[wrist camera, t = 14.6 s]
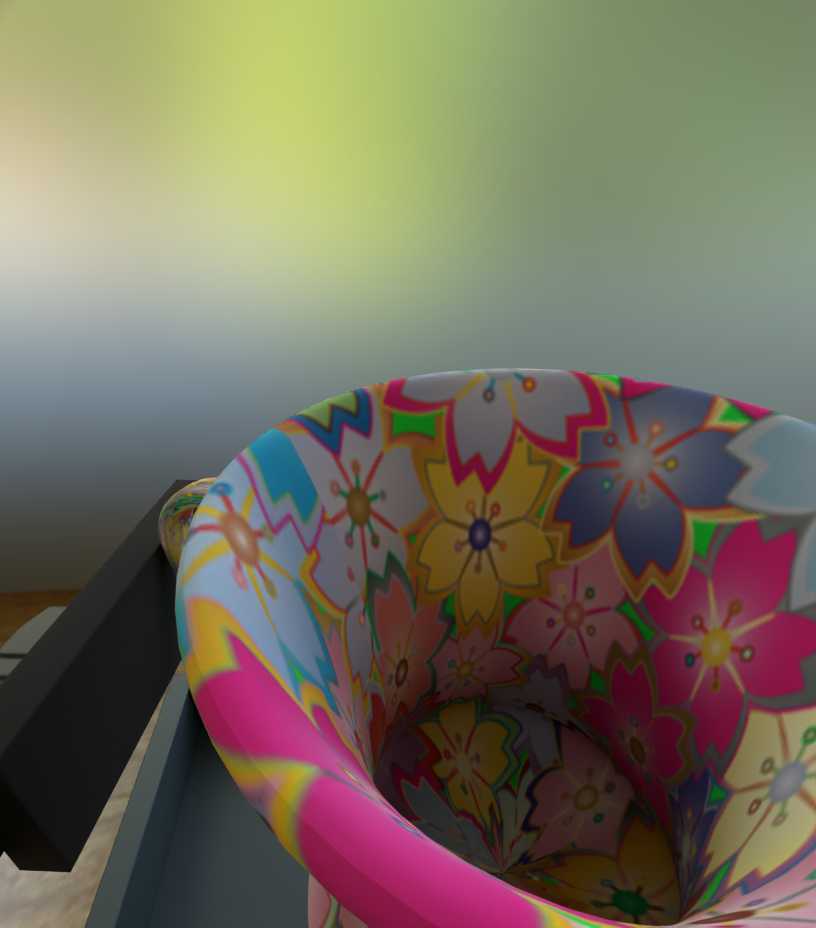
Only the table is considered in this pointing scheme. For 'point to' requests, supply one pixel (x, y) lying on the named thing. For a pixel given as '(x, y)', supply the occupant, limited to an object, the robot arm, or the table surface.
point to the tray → (195, 842)
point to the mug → (517, 651)
